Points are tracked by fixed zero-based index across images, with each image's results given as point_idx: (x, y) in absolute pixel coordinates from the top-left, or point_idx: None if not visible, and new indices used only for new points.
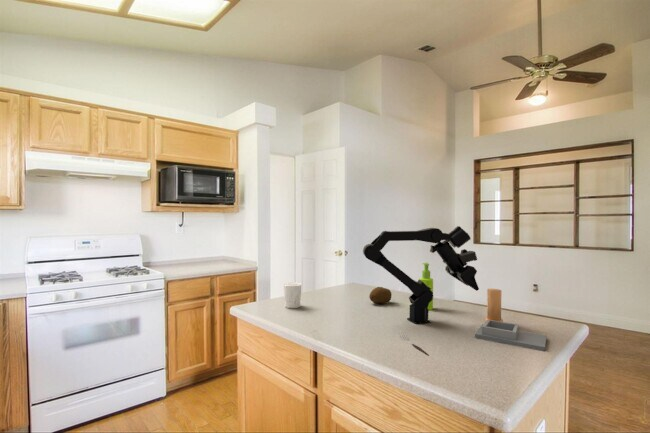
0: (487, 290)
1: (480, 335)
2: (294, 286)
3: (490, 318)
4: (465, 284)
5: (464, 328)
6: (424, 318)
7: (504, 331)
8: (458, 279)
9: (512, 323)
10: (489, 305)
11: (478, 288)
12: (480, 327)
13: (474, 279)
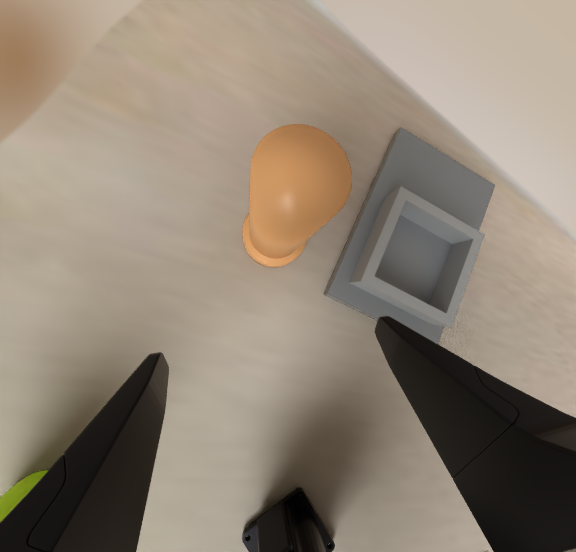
0: (296, 226)
1: (441, 331)
2: None
3: (294, 251)
4: (166, 395)
5: (345, 360)
6: (314, 527)
7: (471, 263)
8: (140, 523)
9: (393, 203)
10: (302, 243)
11: (395, 321)
12: (366, 311)
13: (524, 401)
